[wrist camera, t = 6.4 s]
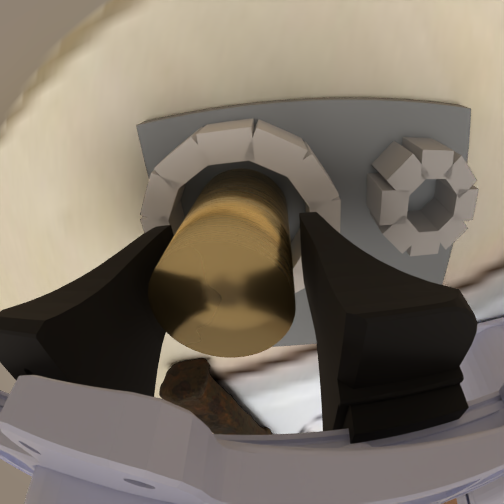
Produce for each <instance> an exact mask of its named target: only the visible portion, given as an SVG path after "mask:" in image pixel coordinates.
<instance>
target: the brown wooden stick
mask: <svg viewBox="0 0 504 504" xmlns="http://www.w3.org/2000/svg"><path fill="white" fill-rule="evenodd" d="M209 367H210V365H209V363H208V362H207V361H206V359H204V358H199V359H194V360H186V361H182V362H179V363H176V364H174V365H173V366H172V367H171V368H170V369H169V370H168V371H167V373H166V376H165V379H164V381H163V383H162V384H161V387H160V393H159V395H160V397H161V398H162V399H164V400H166V401H168V402H170V403H173V404H175V405H177V406H180V407H182V408H184V409H187V410H189V411H191V412H192V413H193V414H194V415H195V416H196V417H198V418H199V419H200V420H201V421H202V422H203V423H205V424H206V425H207V427H208V428H209V429H210V430H211V432H212V433H213V434H225V435H272V433H271V431H270V429H269V428H267V427H260V426H259V425H258V424H257V423H256V422H255V421H254V420H253V418H252V417H251V416H250V415H249V414H247V413H246V412H245V411H244V410H243V409H242V408H241V407H240V406H239V405H238V404H237V402H236V401H235V400H234V399H233V398H232V397H231V395H229V394H228V393H227V392H226V391H224V390H223V388H222V387H221V386H220V385H219V384H218V383H217V382H216V381H215V380H214V379H213V378H212V377H211V376H210V374H209Z"/></svg>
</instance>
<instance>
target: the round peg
mask: <svg viewBox="0 0 504 504" xmlns="http://www.w3.org/2000/svg"><path fill="white" fill-rule="evenodd" d="M148 298H149V303H150V307H151V310H152V312H153V314H154V316H155V318H156V320H157V321H158V323H159V324H160V325H161V327H162V328H163V329H164V330H165V331H166V332H167V333H168V334H169V335H170V336H171V337H173V338H174V339H175V340H177V341H178V342H179V343H181V344H183V345H185V346H186V347H188V348H191V349H193V350H195V351H198V352H201V353H204V354H208V355H212V356H218V357H244V356H249V355H253V354H257V353H260V352H262V351H264V350H267V349H268V348H270V347H272V346H274V345H275V344H276V343H278V342H279V341H280V340H281V339H282V338H283V337H284V336H285V335H286V333H287V332H288V331H289V329H290V327H291V325H292V323H293V320H294V317H295V311H296V303H295V289H294V276H293V264H292V252H291V241H290V230H289V219H288V209H287V203H286V199H285V196H284V194H283V192H282V190H281V189H280V187H279V186H278V185H277V184H276V183H275V182H274V181H273V180H272V179H271V178H269V177H268V176H266V175H265V174H263V173H261V172H258V171H255V170H252V169H242V168H239V169H231V170H227V171H225V172H222V173H220V174H218V175H216V176H215V177H214V178H212V179H211V180H210V181H209V182H208V183H207V185H206V186H205V187H204V189H203V190H202V192H201V193H200V195H199V196H198V198H197V200H196V201H195V203H194V204H193V206H192V208H191V209H190V211H189V212H188V214H187V216H186V217H185V219H184V220H183V222H182V224H181V225H180V227H179V229H178V230H177V232H176V234H175V235H174V237H173V239H172V240H171V242H170V244H169V245H168V247H167V249H166V250H165V252H164V254H163V255H162V257H161V259H160V261H159V262H158V264H157V266H156V268H155V269H154V271H153V273H152V275H151V278H150V281H149V286H148Z"/></svg>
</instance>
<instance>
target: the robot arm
mask: <svg viewBox="0 0 504 504" xmlns="http://www.w3.org/2000/svg"><path fill="white" fill-rule="evenodd" d="M299 220H300V240H301V262H302V271H303V280H304V286H305V290H306V295H307V299H308V303H309V308H310V312H311V316H312V321H313V325H314V330H315V335H316V341H317V351H318V361H319V373H320V386H321V401H322V420H323V431H321V432H310V433H296V434H274V435H225V434H213V433H212V432H211V430H210V429H209V428H208V427H207V425H206V424H205V423H203V422H202V421H201V420H200V419H199V418H198V417H196V416H195V415H194V414H193V413H192V412H191V411H189V410H187V409H184V408H182V407H180V406H177V405H175V404H173V403H170V402H168V401H166V400H164V399H160V398H156V397H154V392H155V384H156V376H157V369H158V363H159V358H160V353H161V347H162V343H163V340H164V336H165V333H166V331H165V330H164V329H163V328H162V327H161V325H160V324H159V323H158V321H157V320H156V318H155V316H154V314H153V312H152V310H151V307H150V303H149V298H148V286H149V281H150V278H151V275H152V273H153V271H154V269H155V268H156V266H157V264H158V262H159V261H160V259H161V257H162V255H163V254H164V252H165V250H166V249H167V247H168V245H169V244H170V242H171V240H172V239H173V237H174V234H173V230H172V227H171V225H165V226H156V227H154V228H152V229H150V230H149V231H147V232H146V233H144V234H143V235H141V236H140V237H139V238H137V239H136V240H134V241H133V242H132V243H130V244H129V245H128V246H126V247H125V248H124V249H122V250H121V251H119V252H118V253H117V254H115V255H114V256H112V257H111V258H109V259H108V260H107V261H105V262H104V263H102V264H101V265H99V266H98V267H96V268H95V269H93V270H92V271H90V272H88V273H87V274H85V275H83V276H82V277H80V278H78V279H76V280H75V281H73V282H71V283H69V284H67V285H65V286H63V287H61V288H59V289H57V290H55V291H53V292H51V293H48V294H46V295H44V296H41V297H39V298H36V299H34V300H31V301H29V302H26V303H23V304H20V305H17V306H14V307H11V308H7V309H4V310H2V311H1V312H0V362H1V363H2V365H3V366H4V367H5V368H6V369H7V370H8V372H10V374H11V375H12V376H13V377H14V378H15V379H16V382H15V384H14V386H13V388H12V390H11V393H10V394H9V393H6V392H3V391H1V390H0V459H2V460H4V461H5V462H7V463H9V464H10V465H12V466H14V467H15V468H17V469H19V470H21V471H23V472H24V473H26V474H28V475H30V476H32V479H31V482H30V485H29V489H28V492H27V495H26V499H25V503H24V504H442V503H445V502H447V501H450V500H452V499H455V498H456V499H457V504H504V317H502V318H498V319H494V320H490V321H486V322H482V323H478V324H477V320H476V317H475V315H474V313H473V311H472V310H471V308H470V306H469V305H468V303H467V301H466V300H465V298H464V297H463V295H462V293H461V292H460V291H459V289H455V288H451V287H448V286H444V285H440V284H437V283H433V282H429V281H426V280H424V279H421V278H418V277H415V276H413V275H410V274H408V273H405V272H403V271H400V270H398V269H396V268H394V267H392V266H390V265H388V264H385V263H384V262H382V261H380V260H378V259H376V258H375V257H373V256H371V255H370V254H368V253H366V252H365V251H363V250H362V249H360V248H359V247H357V246H356V245H354V244H353V243H352V242H350V241H349V240H348V239H346V238H345V237H344V236H343V235H341V234H340V233H339V232H338V231H337V230H335V229H334V228H333V227H332V226H331V225H330V224H329V223H328V222H327V221H326V220H325V219H324V218H323V217H321V216H320V215H319V214H318V213H317V212H305V213H299Z"/></svg>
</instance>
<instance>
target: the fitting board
mask: <svg viewBox="0 0 504 504" xmlns="http://www.w3.org/2000/svg"><path fill="white" fill-rule="evenodd" d="M470 119H471V109H470V108H467V107H464V106H461V105H456V104H448V103H440V102H431V101H420V100H407V99H390V98H309V99H291V100H278V101H266V102H256V103H247V104H239V105H231V106H224V107H217V108H211V109H205V110H199V111H193V112H187V113H182V114H177V115H172V116H167V117H162V118H158V119H153V120H149V121H145V122H143V123H141V124H139V125H137V131H138V135H139V140H140V144H141V148H142V153H143V157H144V161H145V165H146V169H147V173H148V177H149V182H148V185H147V189H146V193H145V197H144V201H143V205H142V208H141V213H140V215H142V217H141V219H140V220H141V223H142V227H143V230H144V233H146V232H147V231H149V230H150V229H152V228H154V227H156V226H165V225H171V227H172V230H173V234H174V235H175V234H176V232H177V230H178V229H179V227H180V225H181V224H182V222H183V220H184V219H185V217H186V216H187V214H188V212H189V211H190V209H191V208H192V206H193V204H194V203H195V201H196V200H197V198H198V196H199V195H200V193H201V192H202V190H203V189H204V187H205V186H206V185H207V183H208V182H209V181H210V180H211V179H212V178H214V177H215V176H216V175H218V174H220V173H222V172H225V171H227V170H231V169H239V168H242V169H252V170H255V171H258V172H261V173H263V174H265V175H266V176H268V177H269V178H271V179H272V180H273V181H274V182H275V183H276V184H277V185H278V186H279V187H280V189H281V190H282V192H283V194H284V196H285V199H286V203H287V209H288V219H289V230H290V241H291V252H292V264H293V276H294V289H295V303H296V311H295V317H294V320H293V323H292V325H291V327H290V329H289V331H288V332H287V333H286V335H285V336H284V337H283V338H282V339H281V340H280V341H279V342H278V343H276V344H275V345H274V346H290V345H304V344H316V343H317V341H316V335H315V330H314V325H313V321H312V316H311V312H310V308H309V303H308V299H307V295H306V290H305V286H304V280H303V271H302V262H301V240H300V220H299V213H305V212H317V213H318V214H319V215H320V216H321V217H323V218H324V219H325V220H326V221H327V222H328V223H329V224H330V225H331V226H332V227H333V228H334V229H335V230H337V231H338V232H339V233H340V234H341V235H343V236H344V237H345V238H346V239H348V240H349V241H350V242H352V243H353V244H354V245H356V246H357V247H359V248H360V249H362V250H363V251H365V252H366V253H368V254H370V255H371V256H373V257H375V258H376V259H378V260H380V261H382V262H384V263H385V264H388V265H390V266H392V267H394V268H396V269H398V270H400V271H403V272H405V273H408V274H410V275H413V276H415V277H418V278H421V279H424V280H426V281H429V282H433V283H437V284H440V285H442V283H443V280H444V276H445V273H446V269H447V265H448V262H449V258H450V254H451V250H452V246H453V243H454V242H455V241H456V240H457V239H458V238H459V237H460V236H461V235H462V234H463V233H464V232H465V231H466V230H467V229H468V228H467V226H466V224H465V223H464V221H465V220H473V216H474V211H475V206H476V201H477V195H478V189H477V188H476V187H475V186H473V184H474V183H475V182H476V181H477V179H476V178H475V176H474V174H473V173H472V171H471V170H470V168H469V166H468V165H467V159H468V149H469V136H470ZM274 346H272V347H274Z"/></svg>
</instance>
